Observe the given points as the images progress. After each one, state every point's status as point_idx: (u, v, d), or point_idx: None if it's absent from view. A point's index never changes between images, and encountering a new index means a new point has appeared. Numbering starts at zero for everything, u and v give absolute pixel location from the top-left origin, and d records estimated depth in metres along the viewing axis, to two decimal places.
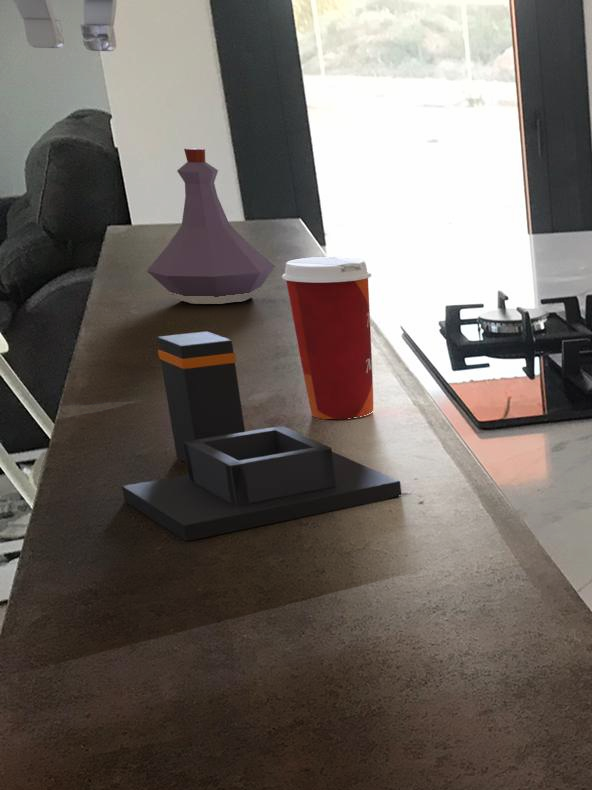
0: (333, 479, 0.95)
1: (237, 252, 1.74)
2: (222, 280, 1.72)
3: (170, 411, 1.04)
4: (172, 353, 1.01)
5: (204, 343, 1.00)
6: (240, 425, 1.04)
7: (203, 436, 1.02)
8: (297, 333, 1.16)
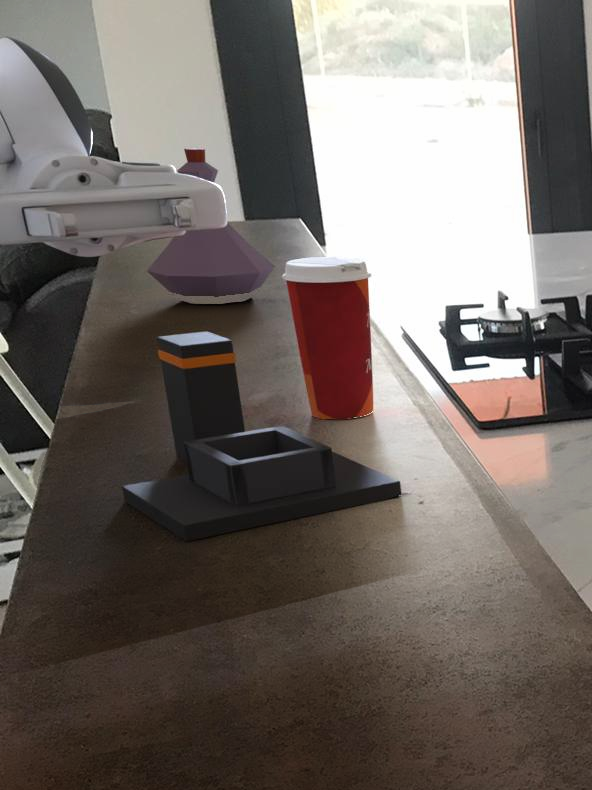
0: (333, 479, 0.95)
1: (237, 252, 1.74)
2: (222, 280, 1.72)
3: (170, 411, 1.04)
4: (172, 353, 1.01)
5: (204, 343, 1.00)
6: (240, 425, 1.04)
7: (203, 436, 1.02)
8: (297, 333, 1.16)
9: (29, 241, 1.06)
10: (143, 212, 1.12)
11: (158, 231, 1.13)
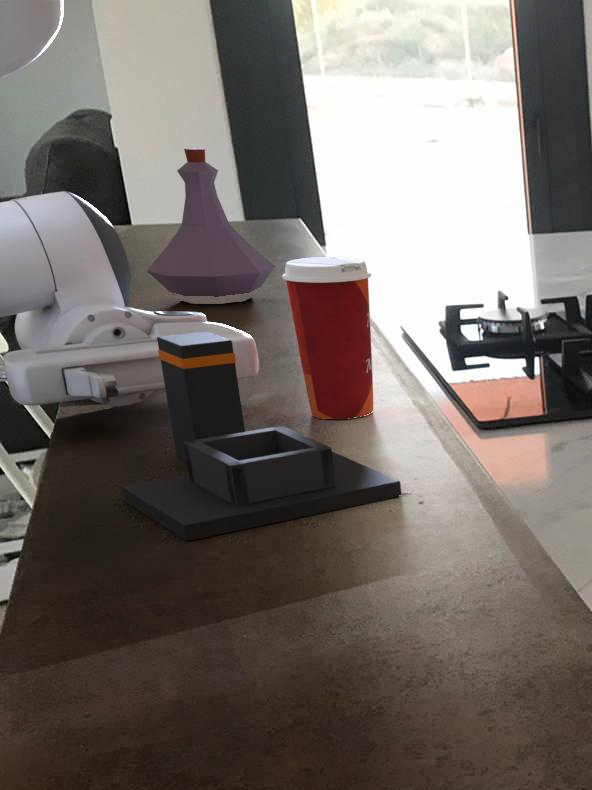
0: (333, 479, 0.95)
1: (237, 252, 1.74)
2: (222, 280, 1.72)
3: (170, 411, 1.04)
4: (172, 353, 1.01)
5: (204, 343, 1.00)
6: (240, 425, 1.04)
7: (203, 436, 1.02)
8: (297, 333, 1.16)
9: (68, 400, 1.08)
10: None
11: None
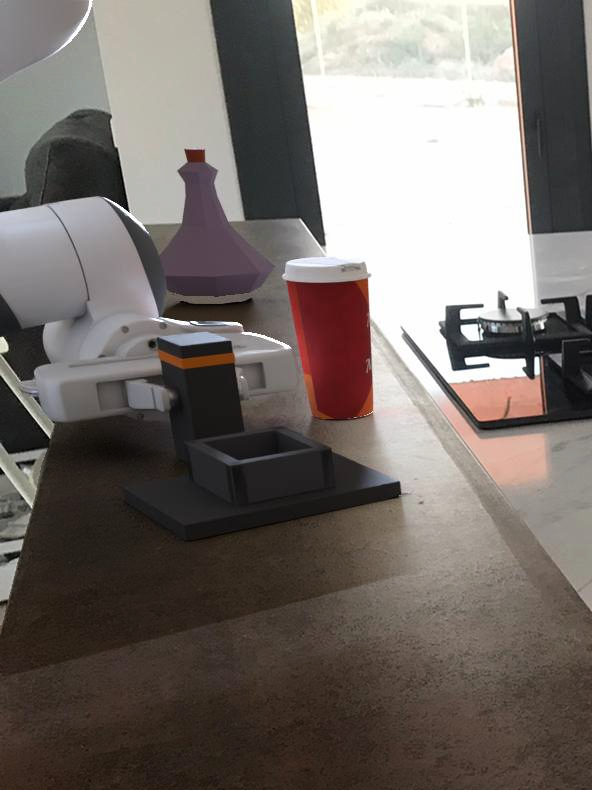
0: (333, 479, 0.95)
1: (237, 252, 1.74)
2: (222, 280, 1.72)
3: (170, 411, 1.04)
4: (171, 353, 1.01)
5: (204, 343, 1.00)
6: (240, 425, 1.04)
7: (203, 436, 1.02)
8: (297, 333, 1.16)
9: (102, 416, 1.02)
10: None
11: None
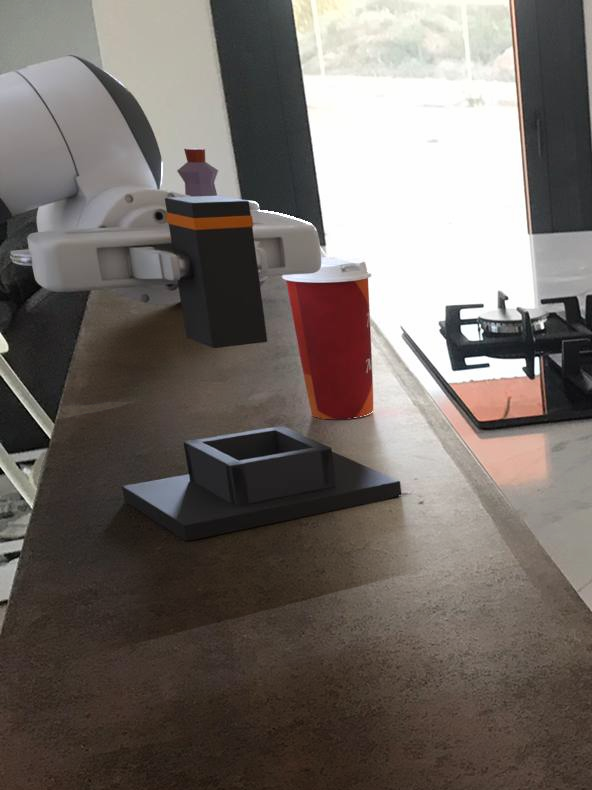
0: (333, 479, 0.95)
1: None
2: None
3: (179, 284, 0.93)
4: (181, 214, 0.90)
5: (218, 202, 0.89)
6: (258, 299, 0.93)
7: (216, 309, 0.91)
8: (297, 333, 1.16)
9: (104, 287, 0.91)
10: None
11: None
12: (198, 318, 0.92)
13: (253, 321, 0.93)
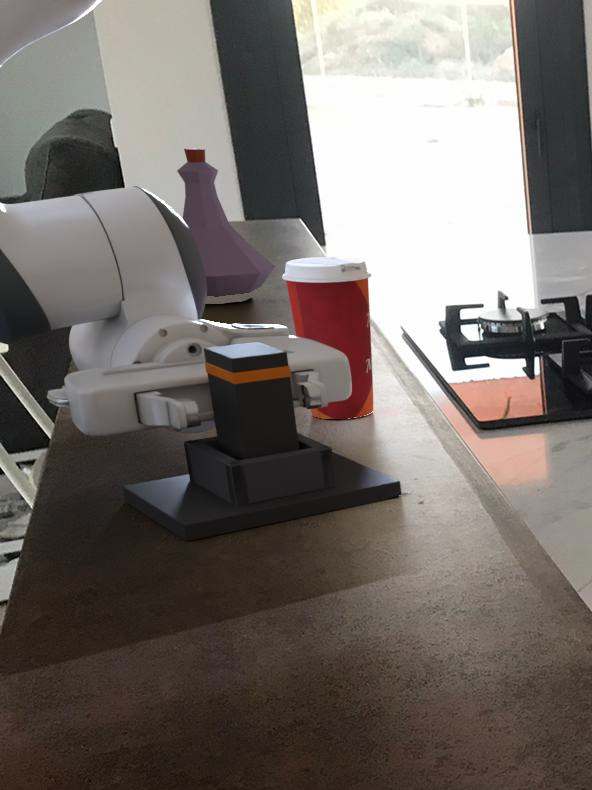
0: (333, 479, 0.95)
1: (237, 252, 1.74)
2: (222, 280, 1.72)
3: (217, 430, 0.94)
4: (221, 366, 0.91)
5: (257, 355, 0.91)
6: (295, 445, 0.94)
7: None
8: (297, 333, 1.16)
9: (140, 429, 0.92)
10: None
11: None
12: None
13: None
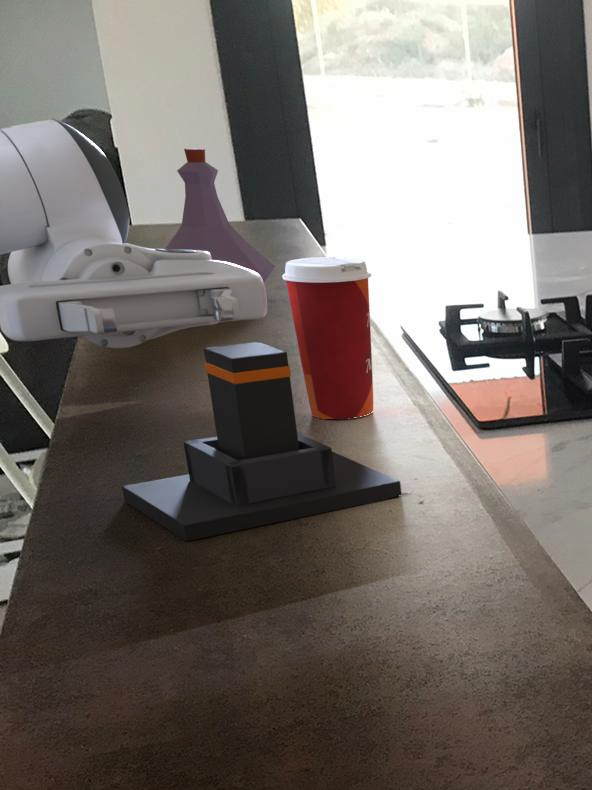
0: (333, 479, 0.95)
1: (237, 252, 1.74)
2: None
3: (217, 430, 0.94)
4: (221, 366, 0.91)
5: (257, 355, 0.91)
6: (295, 445, 0.94)
7: None
8: (297, 333, 1.16)
9: (63, 336, 1.00)
10: (180, 304, 1.06)
11: (196, 323, 1.07)
12: None
13: None
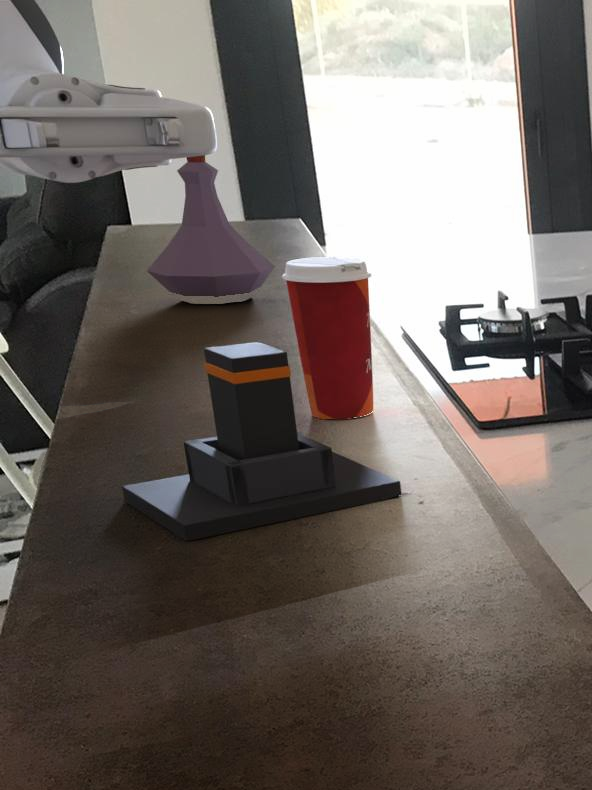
0: (333, 479, 0.95)
1: (237, 252, 1.74)
2: (222, 280, 1.72)
3: (217, 430, 0.94)
4: (221, 366, 0.91)
5: (257, 355, 0.91)
6: (295, 445, 0.94)
7: None
8: (297, 333, 1.16)
9: (6, 155, 1.00)
10: (127, 132, 1.06)
11: (144, 152, 1.07)
12: None
13: None
